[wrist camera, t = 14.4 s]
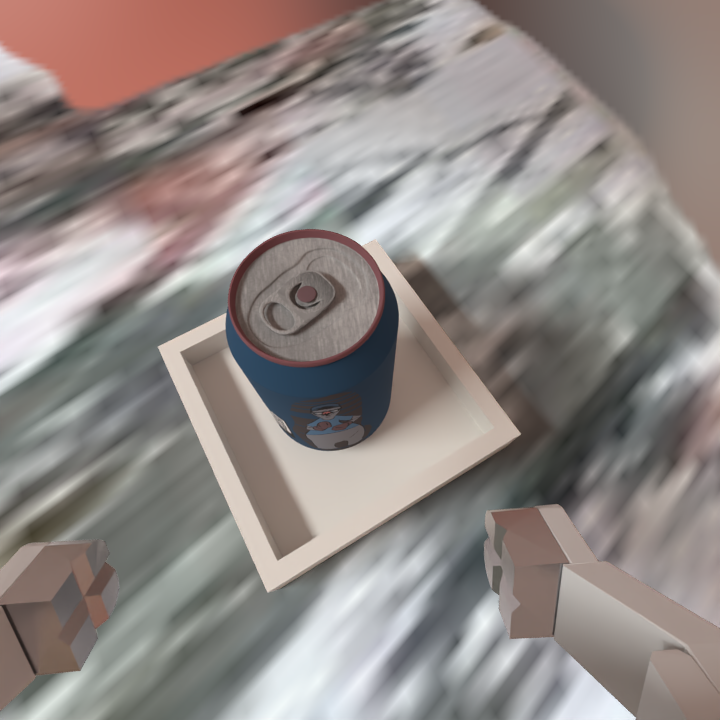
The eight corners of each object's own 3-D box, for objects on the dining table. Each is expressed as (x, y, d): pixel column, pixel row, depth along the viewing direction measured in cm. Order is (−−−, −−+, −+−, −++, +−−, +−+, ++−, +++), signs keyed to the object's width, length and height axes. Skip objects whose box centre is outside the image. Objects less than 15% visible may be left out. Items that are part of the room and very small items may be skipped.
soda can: (337, 326, 30) (316, 187, 19) (414, 401, 27) (442, 294, 16) (251, 395, 28) (173, 288, 17) (326, 481, 26) (292, 422, 15)
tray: (177, 366, 30) (157, 346, 27) (375, 266, 33) (375, 239, 30) (279, 589, 24) (267, 592, 22) (506, 446, 27) (521, 433, 24)
